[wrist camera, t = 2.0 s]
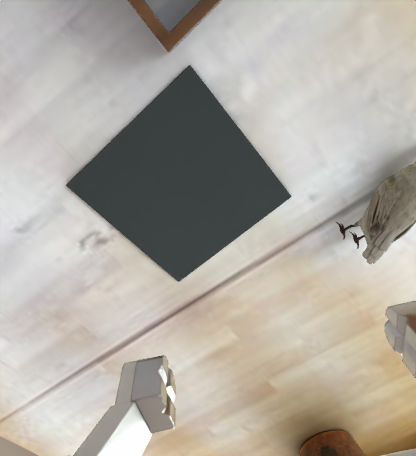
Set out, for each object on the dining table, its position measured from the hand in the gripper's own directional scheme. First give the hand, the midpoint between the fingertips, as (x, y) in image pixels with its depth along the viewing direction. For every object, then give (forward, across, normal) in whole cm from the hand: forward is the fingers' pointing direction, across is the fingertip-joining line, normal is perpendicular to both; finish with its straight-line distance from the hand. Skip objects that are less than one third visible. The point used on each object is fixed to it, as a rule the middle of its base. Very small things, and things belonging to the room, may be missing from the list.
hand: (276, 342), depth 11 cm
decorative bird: (+30, -22, +11) cm, 39 cm away
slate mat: (+30, +4, +4) cm, 30 cm away
